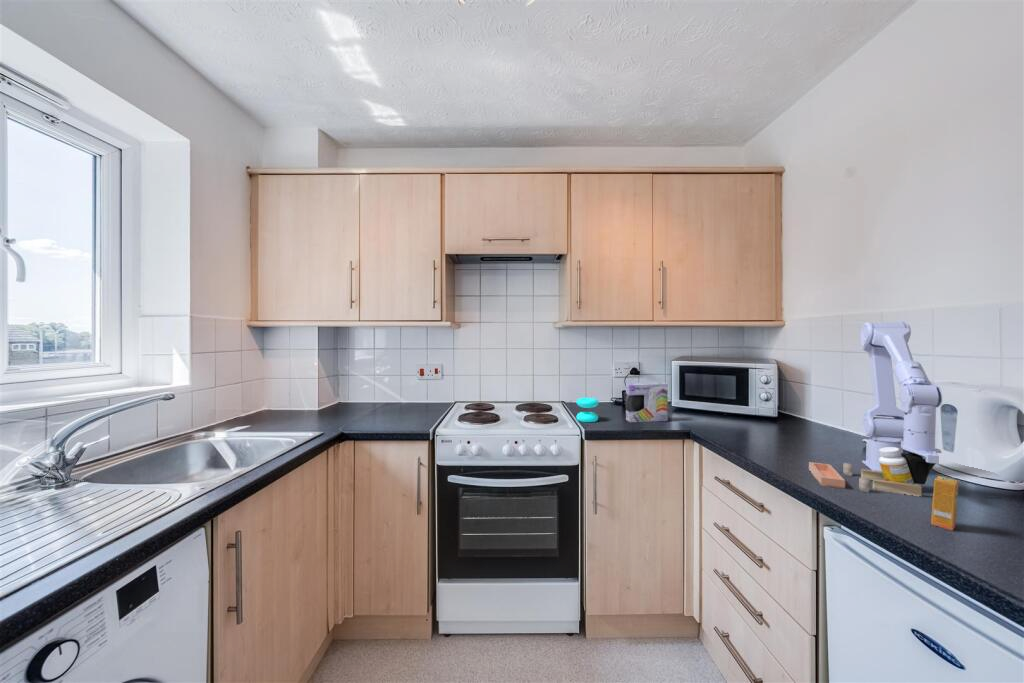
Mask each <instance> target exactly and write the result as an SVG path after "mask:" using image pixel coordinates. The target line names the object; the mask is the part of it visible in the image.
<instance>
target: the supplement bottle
mask: <svg viewBox="0 0 1024 683" xmlns="http://www.w3.org/2000/svg"><path fill="white" fill-rule="evenodd" d="M879 451H880V455H881V456H882V457H880V458H879V463H880V466H881V469H882V473H883V476H884V479H885V481H890V482H898V483H906V484H914V485H915V483H914V482H913V479H912V476H911V473H910V470H909V467H908V464H907V461H906V459H905V458H904V457H902V456H900V455H901V453H900V450H899V448H896V447H885V448H881V449H879Z"/></svg>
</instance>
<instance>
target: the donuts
mask: <svg viewBox="0 0 1024 683" xmlns="http://www.w3.org/2000/svg"><path fill="white" fill-rule="evenodd" d="M576 405H577V406H579V407H581V408H585V409H591V408H596V407H598V405H599V400H598V399H596V398H593V397H579V398H578V399H577V400H576ZM576 420H577V421H578V422H582V423H595V422H597V421H598V420H599V416H598V414H597V413H595V412H592V411H580V412H578V413H577V415H576Z"/></svg>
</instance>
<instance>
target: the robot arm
mask: <svg viewBox="0 0 1024 683" xmlns="http://www.w3.org/2000/svg"><path fill="white" fill-rule="evenodd" d="M911 329H912V328H911V327H910V324H908V322H907V321H901V322H895V321H894V322H893V321H892V322H891V321H890V322H889V321H888V322H884V321H883V322H871V321H866V322H865V323H864V324H863V325H862V326H861V330H860V342H861V348H862V350H863V351H864V352H867V353H868V356H869V365H870V378H871V385H872V388H871V389H872V397H873V406H872V407H870V408H868V409H867V410H865V411H864V412H863V413H862V421H861V428H862V432H863V434H864V435H865V437H867V438H869V439H867V441H866V445H865V447H866V448H865V452H866V454H865V460H861V463H862V464H864V465H865V466H866V467H868V469H869V470H872V471H881V472H882V469H881V466H880V463H879V458H880V457H882V456H881V455H880V451H879V449H881V448H885V447H896V448H899V450H900V453H901V455H900V456H902V457H904V458H905V459H906V461H907V464H908V467H909V470H910V473H911V476H912V479H913V482H914V485H926V481H927V479H928V476H929V474H930V472H931V470H932V469H933V467H934V466H935V465H939V462H940V459H939V458H940V457H939V455H937V454H942V450H941V449H938V448H936V420H937V419H936V417H937V414H936V413H937V408H939V407H940V406H941V405H942V403H943V393H942V390H941V387H940V386H939V385H938V384H936V383H935V382H934V381H930V380H929V377H928V376H927V374H926V371H925V370H924V367H923V366H922V364H921V363H920V362H918V361H915V360H914V358H913V356H912V353H911V349H910V347H909V344H908V343H909V341H910V338H911V334H912V330H911ZM892 361H894V362H893V363H894V364H895V365H894V366H893V365H892ZM894 376H895V378H896V380H897V383H898V385H899V388H900V389H899V392H898V398H899V402H900V405H901V406H900V408H898V406H897V402H896V401H897V400H896V393H895V390H896V389H895V383H894V381H895V380H894ZM904 451H907V452H904Z"/></svg>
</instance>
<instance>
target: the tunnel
mask: <svg viewBox="0 0 1024 683" xmlns="http://www.w3.org/2000/svg"><path fill="white" fill-rule="evenodd" d="M842 467H843V468H842V474H843V475H844V476H847V477H852V476H853V467H854V466H853V464H851V463H848V462H843V466H842ZM858 479H859V480H858V491H859V492H862V493H870V481H871V480H873V481H872V490H873V491H876V492H882V491H884V493H890V492H891V493H892V494H897V493H898V494H899V495H904V494H906V496H911V495H913V497H919V496H921V497H922V489H923V487H922V486H921V484H915V483H914V484H906V483H898V482H890V481H885V479H884V476H883V473H882V472H881V471H873V470H871V469H865V468H861V469H860V477H859V478H858Z"/></svg>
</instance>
